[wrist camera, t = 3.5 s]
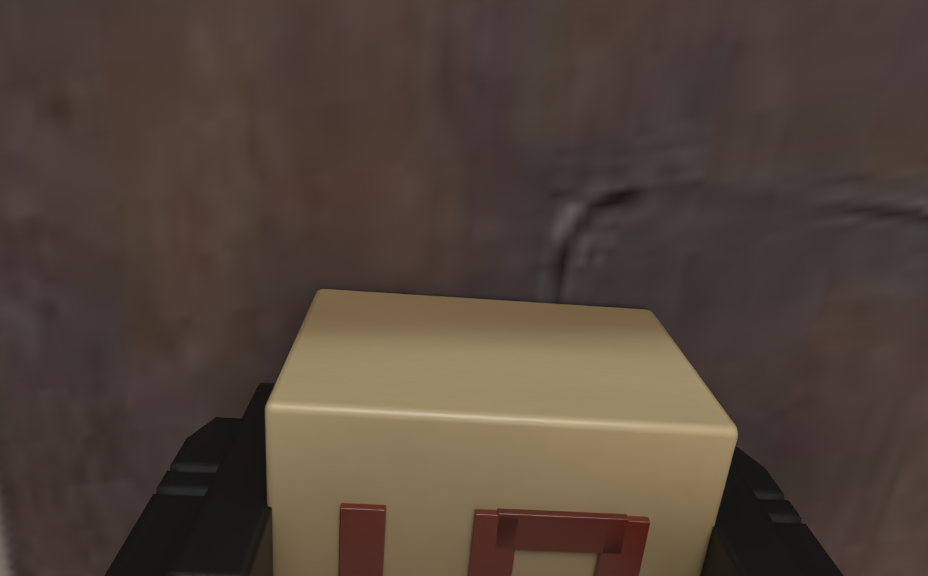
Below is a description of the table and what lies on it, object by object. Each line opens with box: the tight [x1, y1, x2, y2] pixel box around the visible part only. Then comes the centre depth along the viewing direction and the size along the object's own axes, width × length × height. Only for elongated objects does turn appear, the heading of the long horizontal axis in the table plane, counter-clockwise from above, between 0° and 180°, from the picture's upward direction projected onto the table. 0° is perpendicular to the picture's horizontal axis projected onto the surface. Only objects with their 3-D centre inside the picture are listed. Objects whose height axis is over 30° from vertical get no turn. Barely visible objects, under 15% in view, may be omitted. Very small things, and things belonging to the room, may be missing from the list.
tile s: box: [265, 289, 738, 576], centre depth 9 cm, size 4×4×3 cm
